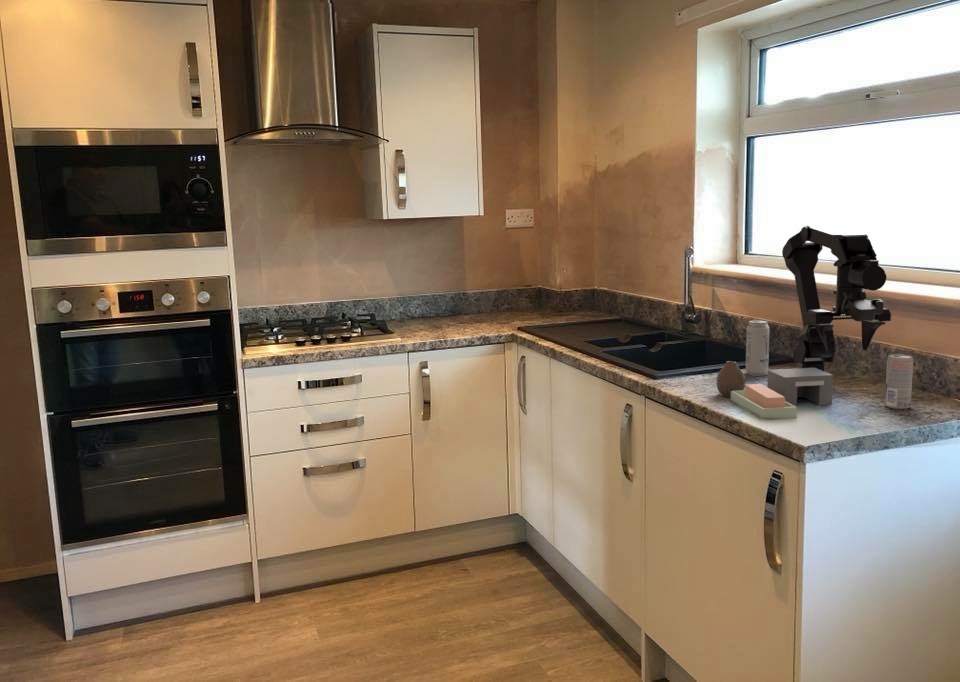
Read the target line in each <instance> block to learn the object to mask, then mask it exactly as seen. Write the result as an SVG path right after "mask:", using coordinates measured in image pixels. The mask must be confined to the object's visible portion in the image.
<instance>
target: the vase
mask: <svg viewBox="0 0 960 682" xmlns="http://www.w3.org/2000/svg"><path fill="white" fill-rule="evenodd" d="M745 384H746V377H745V375H744V372H743V371H742V370H741V368H740V367H739V365H738V363H737V361H734V360H728V361H726V362H725V363H724V365H723V367H722V368H721V369H720V370H719V371H718V374H717V375H716V388H717V391H718V393H719V394H720V395H721V396H722V397H724V398H729V397H731V391H739V390H745Z"/></svg>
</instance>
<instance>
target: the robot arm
mask: <svg viewBox="0 0 960 682" xmlns="http://www.w3.org/2000/svg"><path fill="white" fill-rule="evenodd" d="M823 247H825V248H826V249H830V253H831V254H832V255H833V256H835V258H837V260H835V262H834V263H833V266H834V267H836V268H837V269H836V286H835V287H836V289H833V293H832V294H833V295H835V306H832V311H830V310H826V309H823V308H821V304H820V297H819V293H818V292H819V291H818V286H817V281H816V276H815V268H816V266H817V264H818V261H819V254H820V253H821V252H822V250H823ZM781 251H782V252H781V253H782V254H781V255H782V257H783V260H784V262H785V267H786V268H787V269H788V270H789V271H790V272H791V274H793V276H794V281H795V287H796V291H797V298H798V304H799V309H800V315H801V321H802V329H801V332H800V333H799V336H798V344H797V345H796V348H795V349H794V350H793V352H792V358H793V359H792V360H793V362H795V363H798V364H800V368H817V369H819V370H822V371H824V372H825V364H826V363H831V364H832V363H833V362H834V358H835V354H836V350H837V344H836V342H837V341H836V338H835V336H834V329H833V328H834V326H835V325H834V324H831V323H832V322H833V321H836V320H838V321H839V320H853V321H855V322H861V323H860V324H861V325H860V326H861V345H862V346H861V347H862V350H863V351H867V350H868V348H869V346H870V344H871V342H872V340H873V337H874V335H875V333H876V331H877V330H878V329H879V328H880V327H881V326H883V325H886V323H887V322H891V321H892V312H891V311H890V309H889V308H885V307H884V300H883V299H881V298H874V299H872V300H870V299H869V300H868V299H867V293H866V290H867V291H872V292H873V291H874V292H875V291H878V290H880V289H881V288H883V286H884V285H885V283H886V282H887V273H886V271H885V270H884V269H883V268H882V266H879V264H880V263H879V260H878V258H877V254H876V251H875V250H874V247H873V245H872V242H871V240H870V238H869V235H867V233H865V232H864V233H863V232H862V233H843V232H841V231H838V230H834V229H831V228H828V227H825V226H824V225H821V224H819V225H816V224H814V225H805V226H803V227H802V228H801V230H800V231H798V232H797V233H795V234H794V235H793V236H791V237H790V238H788V240H786V243H785V244H784V246H783V248H782V250H781ZM864 290H865V291H864Z"/></svg>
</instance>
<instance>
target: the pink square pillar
mask: <svg viewBox="0 0 960 682" xmlns="http://www.w3.org/2000/svg"><path fill="white" fill-rule="evenodd" d="M744 390H745V396H744V397H745V398H746V399H748V400H750V401H752V402H754V403H755V404H757V405H759V406H761V407H762V408H779V407H785V397H784V396H782V395H780V394H778V393H777V392H775V391H773V390H771V389H769V388H768V387H767V386H766V385H764V384H762V383H752V384H751V383H750V384H749V383H747V384H746V383H745V388H744Z"/></svg>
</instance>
